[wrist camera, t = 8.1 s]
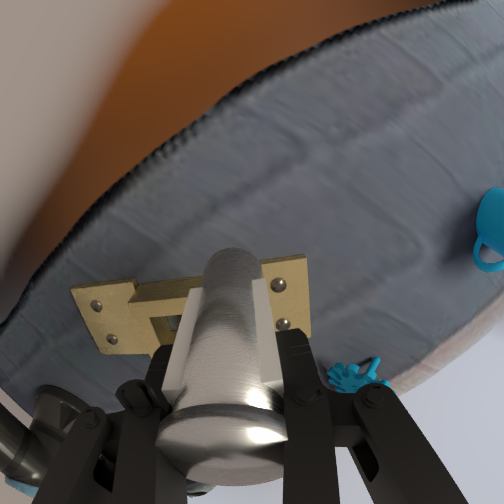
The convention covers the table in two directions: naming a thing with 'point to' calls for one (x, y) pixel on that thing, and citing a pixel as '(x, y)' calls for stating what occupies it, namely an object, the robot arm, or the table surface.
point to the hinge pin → (226, 387)
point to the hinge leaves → (180, 306)
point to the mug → (490, 228)
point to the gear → (353, 377)
